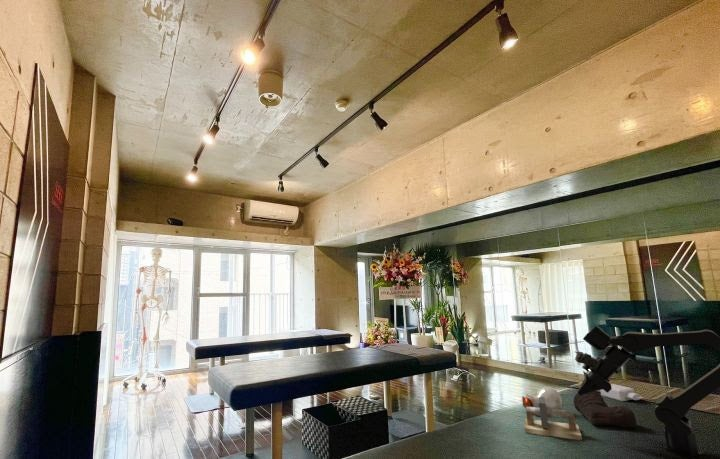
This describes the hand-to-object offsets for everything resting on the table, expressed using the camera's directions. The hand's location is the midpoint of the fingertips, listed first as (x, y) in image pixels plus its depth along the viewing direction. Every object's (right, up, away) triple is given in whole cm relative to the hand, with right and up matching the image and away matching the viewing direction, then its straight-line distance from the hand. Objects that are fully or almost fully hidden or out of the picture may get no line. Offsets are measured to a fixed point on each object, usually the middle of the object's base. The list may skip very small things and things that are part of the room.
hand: (578, 393), depth 119 cm
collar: (-10, -12, +3) cm, 16 cm away
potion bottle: (-1, -18, +21) cm, 27 cm away
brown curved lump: (+15, -15, +9) cm, 23 cm away
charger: (+42, -19, +34) cm, 57 cm away
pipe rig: (-8, -14, +2) cm, 16 cm away
